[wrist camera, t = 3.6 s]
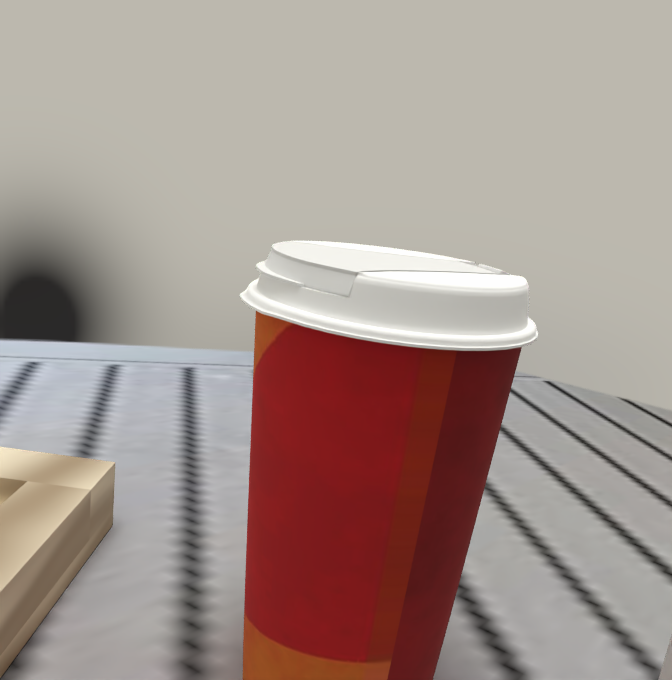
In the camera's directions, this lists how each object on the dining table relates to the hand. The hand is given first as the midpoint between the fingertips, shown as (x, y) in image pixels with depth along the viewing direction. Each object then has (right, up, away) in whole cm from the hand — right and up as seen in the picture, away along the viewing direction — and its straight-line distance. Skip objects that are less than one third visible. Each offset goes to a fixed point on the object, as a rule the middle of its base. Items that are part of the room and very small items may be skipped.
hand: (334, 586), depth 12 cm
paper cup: (0, -7, +8) cm, 11 cm away
